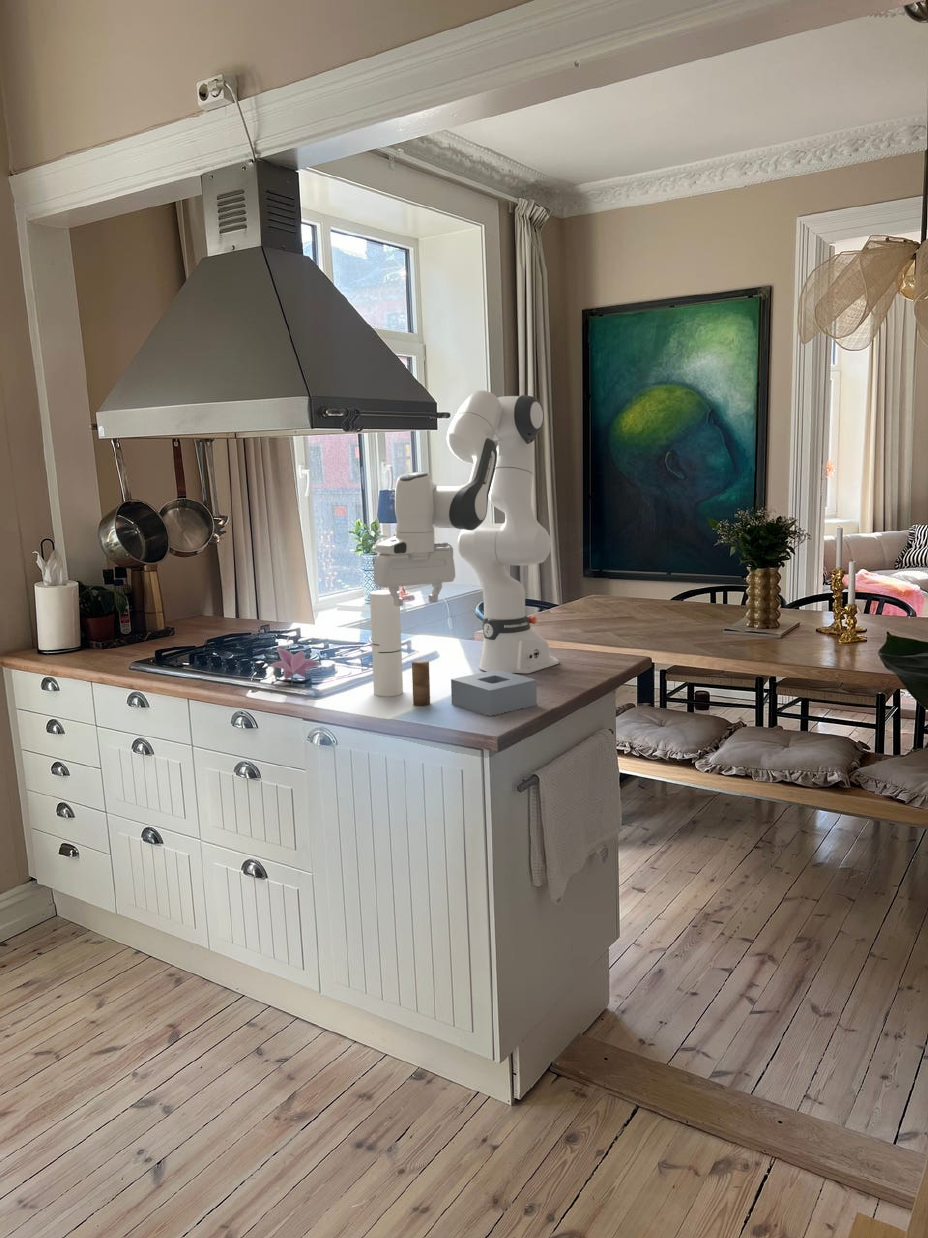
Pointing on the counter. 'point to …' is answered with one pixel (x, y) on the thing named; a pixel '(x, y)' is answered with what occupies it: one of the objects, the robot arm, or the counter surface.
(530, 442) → the robot arm
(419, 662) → the walnut peg
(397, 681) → the cylindrical container
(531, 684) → the socket block
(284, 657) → the lily
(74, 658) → the counter surface
